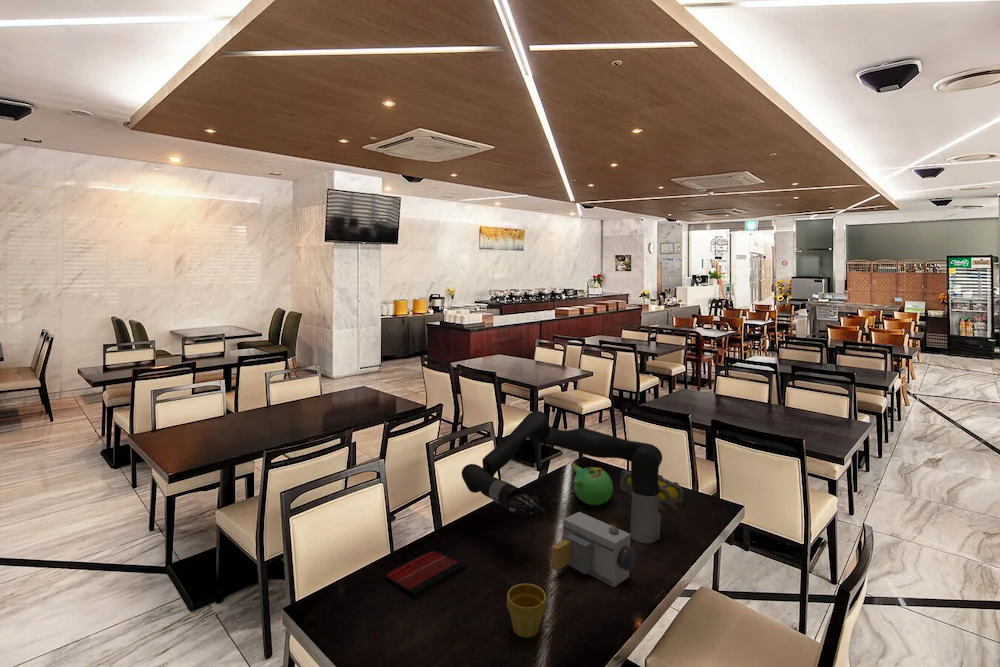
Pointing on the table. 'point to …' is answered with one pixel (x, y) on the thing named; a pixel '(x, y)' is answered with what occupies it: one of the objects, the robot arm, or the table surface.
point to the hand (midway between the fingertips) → (543, 513)
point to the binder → (424, 573)
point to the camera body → (603, 547)
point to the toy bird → (592, 485)
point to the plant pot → (526, 608)
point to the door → (573, 554)
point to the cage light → (667, 492)
